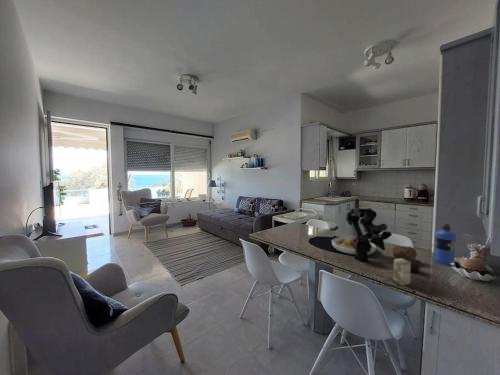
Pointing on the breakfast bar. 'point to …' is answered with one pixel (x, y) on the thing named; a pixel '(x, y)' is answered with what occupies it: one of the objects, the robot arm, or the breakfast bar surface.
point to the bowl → (349, 245)
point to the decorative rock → (404, 252)
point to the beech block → (401, 271)
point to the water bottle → (445, 245)
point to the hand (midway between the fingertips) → (384, 249)
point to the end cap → (413, 264)
